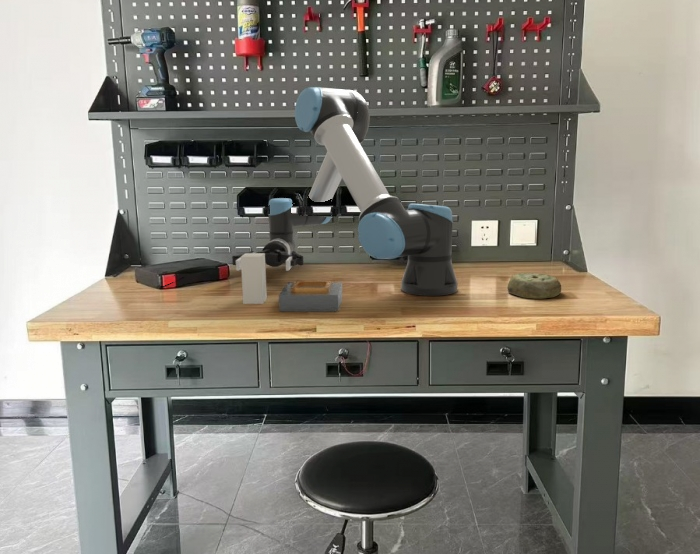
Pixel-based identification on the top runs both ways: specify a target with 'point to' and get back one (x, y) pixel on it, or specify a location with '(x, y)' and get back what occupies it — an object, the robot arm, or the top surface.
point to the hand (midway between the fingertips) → (262, 265)
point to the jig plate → (311, 296)
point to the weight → (534, 286)
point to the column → (253, 278)
